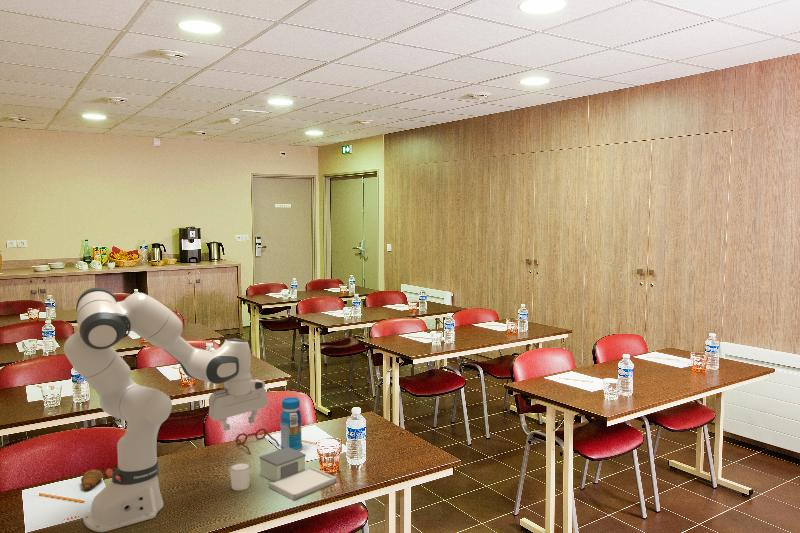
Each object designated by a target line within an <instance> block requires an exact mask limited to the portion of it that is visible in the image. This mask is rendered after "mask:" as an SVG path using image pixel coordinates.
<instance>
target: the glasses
mask: <svg viewBox="0 0 800 533" xmlns="http://www.w3.org/2000/svg"><path fill="white" fill-rule="evenodd" d="M261 431H264V434H263V436H262V437H258V434H259V433H260V432H261ZM266 435H267V436H268V437H269V438H270V439H271V440H272V441H274V442H275V443H276V445H277V446H280V447H281V444H279V442H278V440H277V439H275V437H273V436H272V435H271V434H269V433H268V432H267V431H266V429H264V428H260V429H258V430H257V431H256V432H253V433H252V432H251V433H248V434H246V433H245V432H244V433H243V432H242V433H239V434H238V435H237V436H236V437H235V443H236V445H241V446H242V447H244V448H246V449H247V452H248V453H249V455H250V456H252V453H251V451H250V449H249V447H248V445H245V443H246V442H247V440H248V437H251V436H255V439H256V440H258V441H259V440H263V439H264V438H265V437H266ZM241 436H244V437H245V439H244V441H241V439H239V438H240V437H241Z"/></svg>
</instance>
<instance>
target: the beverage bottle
mask: <svg viewBox="0 0 800 533" xmlns="http://www.w3.org/2000/svg"><path fill="white" fill-rule="evenodd" d="M300 404H301V402H300V399H299V398H298V397H285V398H283V399H282V400H281V405H282V406H281V407H282V409H283V410H282V411H281V413H280V419H281V420H280V423H279V426H280V449H283V448H286V447H289V448H292V449H294V450H296V451H299V452H300V451H301V450H302V448H303V445H302V443H303V439H302V425H303V421H302V413H301V411H300V406H301V405H300Z"/></svg>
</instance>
